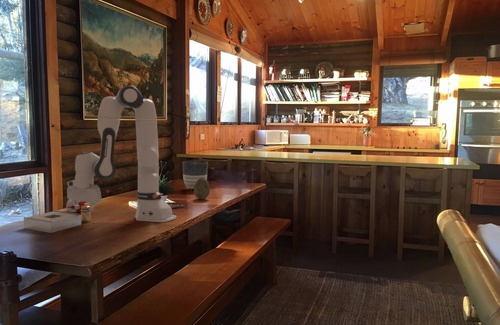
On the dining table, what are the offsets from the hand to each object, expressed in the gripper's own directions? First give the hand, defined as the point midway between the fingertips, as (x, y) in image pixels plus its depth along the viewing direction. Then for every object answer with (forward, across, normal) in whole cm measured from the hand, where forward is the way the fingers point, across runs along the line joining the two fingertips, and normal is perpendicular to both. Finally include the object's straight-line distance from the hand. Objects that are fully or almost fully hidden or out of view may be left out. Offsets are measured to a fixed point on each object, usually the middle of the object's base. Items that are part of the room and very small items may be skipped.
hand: (83, 210), depth 216 cm
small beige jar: (+6, -1, -1) cm, 6 cm away
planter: (+4, +6, -118) cm, 118 cm away
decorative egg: (+4, -20, -84) cm, 86 cm away
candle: (+6, +19, -14) cm, 24 cm away
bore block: (+6, +5, +14) cm, 17 cm away
